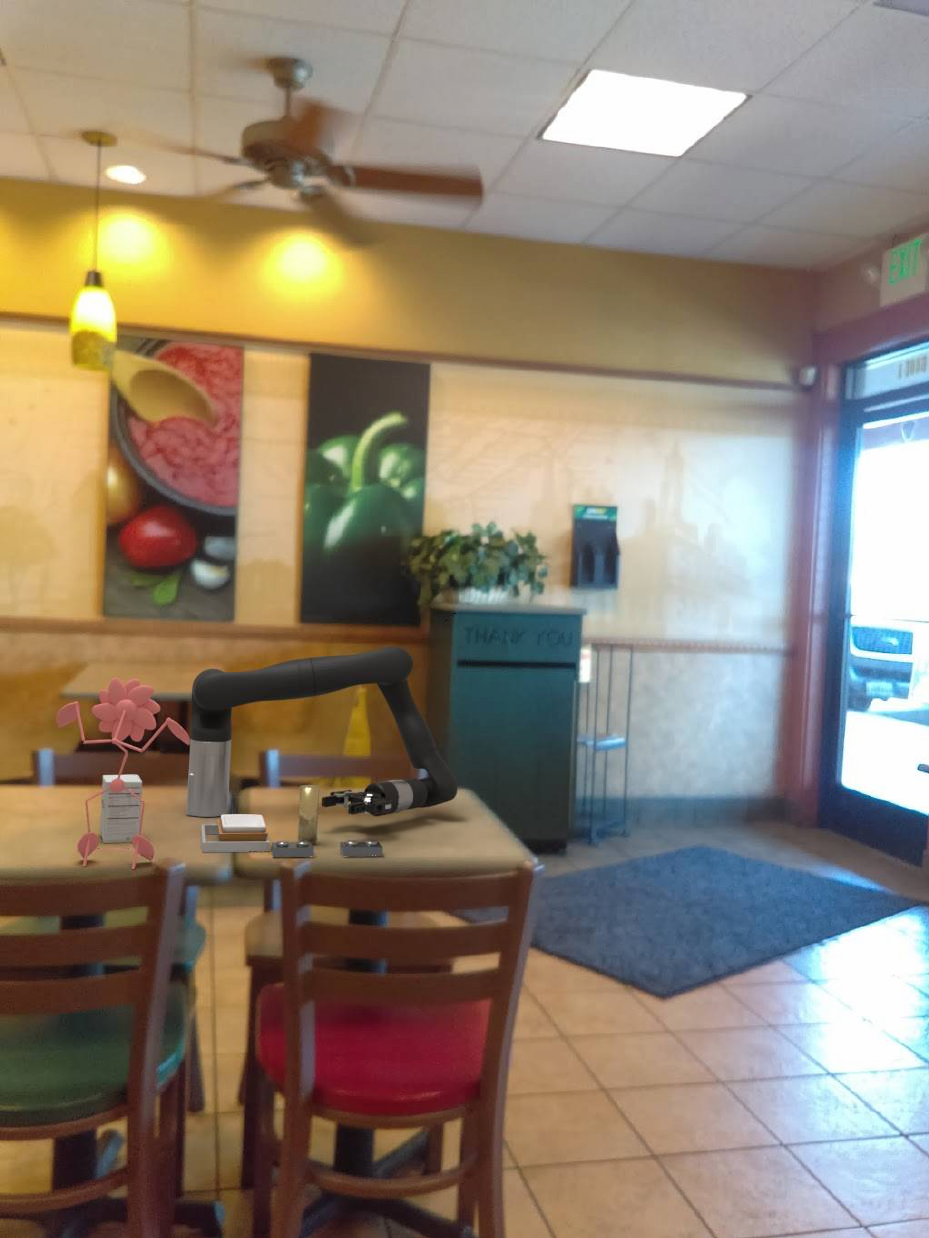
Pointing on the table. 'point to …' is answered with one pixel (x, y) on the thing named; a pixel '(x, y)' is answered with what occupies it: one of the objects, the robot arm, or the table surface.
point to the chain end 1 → (292, 849)
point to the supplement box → (120, 810)
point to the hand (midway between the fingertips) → (336, 805)
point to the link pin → (308, 813)
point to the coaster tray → (230, 846)
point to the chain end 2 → (361, 848)
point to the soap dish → (242, 828)
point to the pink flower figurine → (123, 717)
